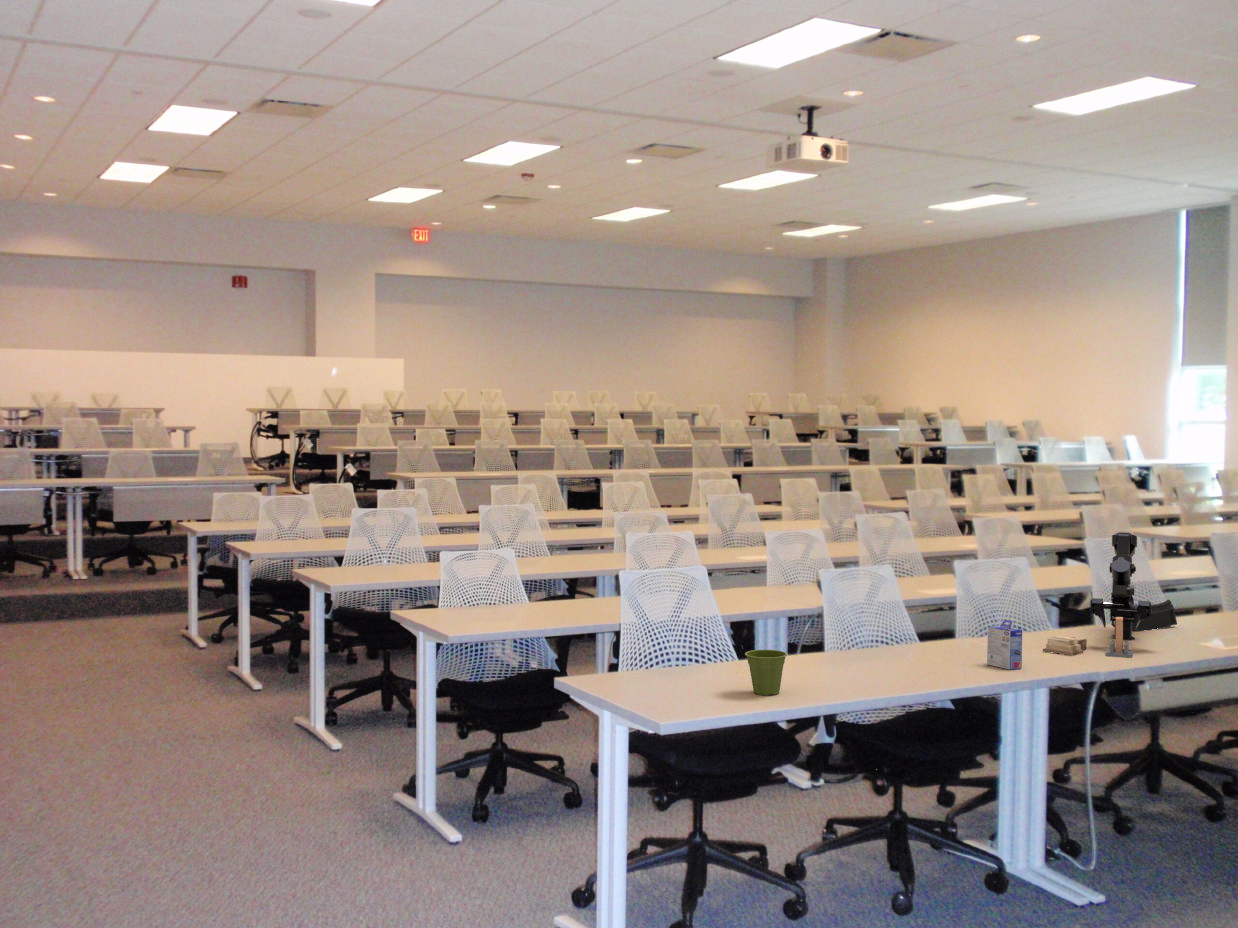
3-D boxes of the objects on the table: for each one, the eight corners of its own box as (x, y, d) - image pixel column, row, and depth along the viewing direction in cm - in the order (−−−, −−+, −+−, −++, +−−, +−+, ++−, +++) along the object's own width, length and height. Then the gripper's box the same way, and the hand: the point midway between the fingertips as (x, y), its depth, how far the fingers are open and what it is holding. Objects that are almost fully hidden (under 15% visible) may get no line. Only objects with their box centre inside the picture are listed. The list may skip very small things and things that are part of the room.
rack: (1065, 646, 390) (1065, 633, 390) (1093, 650, 383) (1093, 636, 383) (1042, 651, 381) (1042, 638, 381) (1071, 655, 373) (1071, 641, 373)
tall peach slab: (1116, 649, 378) (1116, 616, 378) (1122, 650, 378) (1122, 617, 377) (1115, 652, 374) (1115, 618, 374) (1122, 652, 373) (1122, 619, 373)
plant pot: (744, 688, 326) (744, 649, 326) (786, 688, 325) (786, 649, 325) (745, 697, 315) (745, 656, 314) (788, 698, 314) (788, 657, 313)
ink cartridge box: (1023, 668, 353) (1023, 622, 353) (1010, 670, 350) (1010, 623, 350) (999, 663, 362) (999, 617, 361) (986, 664, 359) (986, 619, 359)
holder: (1106, 650, 382) (1107, 638, 382) (1133, 652, 379) (1133, 640, 379) (1105, 655, 373) (1105, 643, 373) (1132, 657, 370) (1132, 645, 370)
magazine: (1174, 602, 433) (1119, 583, 421) (1182, 603, 430) (1126, 584, 418) (1165, 646, 431) (1109, 628, 419) (1172, 647, 428) (1116, 630, 416)
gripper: (1090, 574, 387) (1088, 611, 377) (1151, 577, 379) (1150, 615, 369) (1092, 594, 394) (1089, 631, 385) (1151, 597, 386) (1150, 635, 377)
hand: (1119, 627), depth 379 cm, fingers open, 9 cm apart
